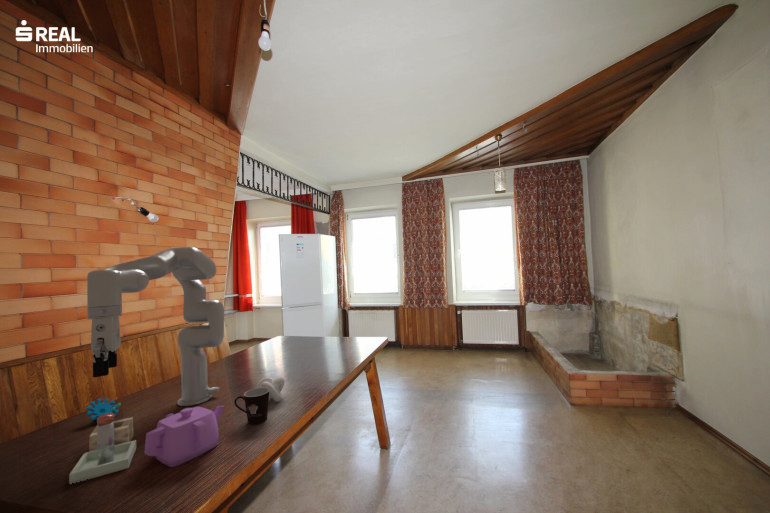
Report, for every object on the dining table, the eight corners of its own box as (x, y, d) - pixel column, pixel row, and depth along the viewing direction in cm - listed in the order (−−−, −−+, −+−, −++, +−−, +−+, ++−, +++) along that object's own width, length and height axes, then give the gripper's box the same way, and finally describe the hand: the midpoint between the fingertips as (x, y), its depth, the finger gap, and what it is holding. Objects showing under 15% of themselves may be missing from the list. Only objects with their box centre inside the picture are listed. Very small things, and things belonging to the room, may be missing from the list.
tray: (136, 448, 97) (136, 439, 97) (128, 468, 87) (128, 458, 87) (84, 461, 91) (84, 452, 91) (69, 484, 81) (69, 474, 81)
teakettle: (140, 474, 84) (139, 427, 85) (167, 441, 100) (167, 402, 101) (210, 461, 88) (209, 417, 89) (225, 432, 105) (224, 395, 105)
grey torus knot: (273, 393, 138) (272, 372, 138) (293, 397, 132) (292, 375, 133) (251, 403, 128) (250, 381, 128) (272, 408, 122) (271, 384, 123)
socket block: (133, 435, 106) (133, 416, 106) (127, 447, 98) (127, 427, 98) (98, 443, 101) (97, 424, 102) (89, 457, 94) (89, 436, 94)
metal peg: (115, 457, 92) (115, 411, 92) (112, 463, 89) (112, 416, 89) (99, 461, 90) (99, 415, 91) (95, 467, 87) (95, 419, 87)
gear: (92, 423, 113) (84, 400, 117) (83, 434, 114) (75, 411, 118) (126, 414, 123) (117, 393, 127) (118, 424, 124) (109, 403, 128)
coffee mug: (275, 416, 114) (274, 389, 115) (256, 428, 106) (256, 398, 107) (252, 412, 119) (251, 385, 120) (232, 422, 111) (232, 394, 112)
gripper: (114, 313, 86) (115, 376, 85) (127, 308, 101) (128, 362, 100) (77, 316, 82) (77, 383, 81) (96, 311, 97) (97, 367, 96)
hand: (105, 371), depth 91 cm, fingers open, 9 cm apart
